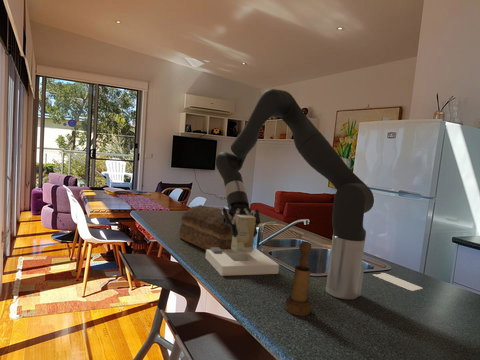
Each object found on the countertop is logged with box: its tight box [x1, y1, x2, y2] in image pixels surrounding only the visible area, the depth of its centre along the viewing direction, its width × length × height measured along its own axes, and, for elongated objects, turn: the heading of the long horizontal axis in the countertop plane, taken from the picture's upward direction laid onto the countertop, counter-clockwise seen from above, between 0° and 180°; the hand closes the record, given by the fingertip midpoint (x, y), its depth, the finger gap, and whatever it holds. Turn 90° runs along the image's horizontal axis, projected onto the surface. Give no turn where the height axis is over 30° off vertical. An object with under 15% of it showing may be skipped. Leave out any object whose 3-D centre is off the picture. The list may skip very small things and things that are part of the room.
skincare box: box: [231, 214, 256, 252], centre depth 124 cm, size 6×4×12 cm
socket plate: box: [204, 247, 280, 277], centre depth 125 cm, size 20×18×4 cm
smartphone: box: [371, 272, 425, 292], centre depth 126 cm, size 8×1×16 cm
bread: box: [179, 204, 233, 251], centre depth 146 cm, size 15×32×16 cm, turn 41°
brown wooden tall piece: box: [284, 241, 312, 317], centre depth 93 cm, size 7×6×18 cm
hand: (245, 236), depth 123 cm, fingers closed on skincare box, 6 cm apart
